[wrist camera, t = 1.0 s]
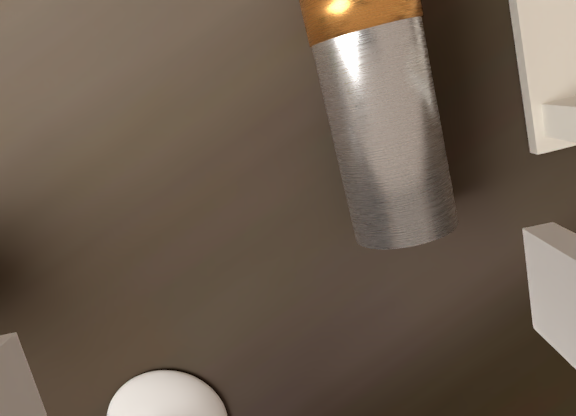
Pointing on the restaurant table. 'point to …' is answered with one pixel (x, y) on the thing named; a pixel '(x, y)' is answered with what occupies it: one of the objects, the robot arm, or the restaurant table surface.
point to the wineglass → (166, 396)
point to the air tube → (383, 119)
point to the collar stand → (547, 70)
